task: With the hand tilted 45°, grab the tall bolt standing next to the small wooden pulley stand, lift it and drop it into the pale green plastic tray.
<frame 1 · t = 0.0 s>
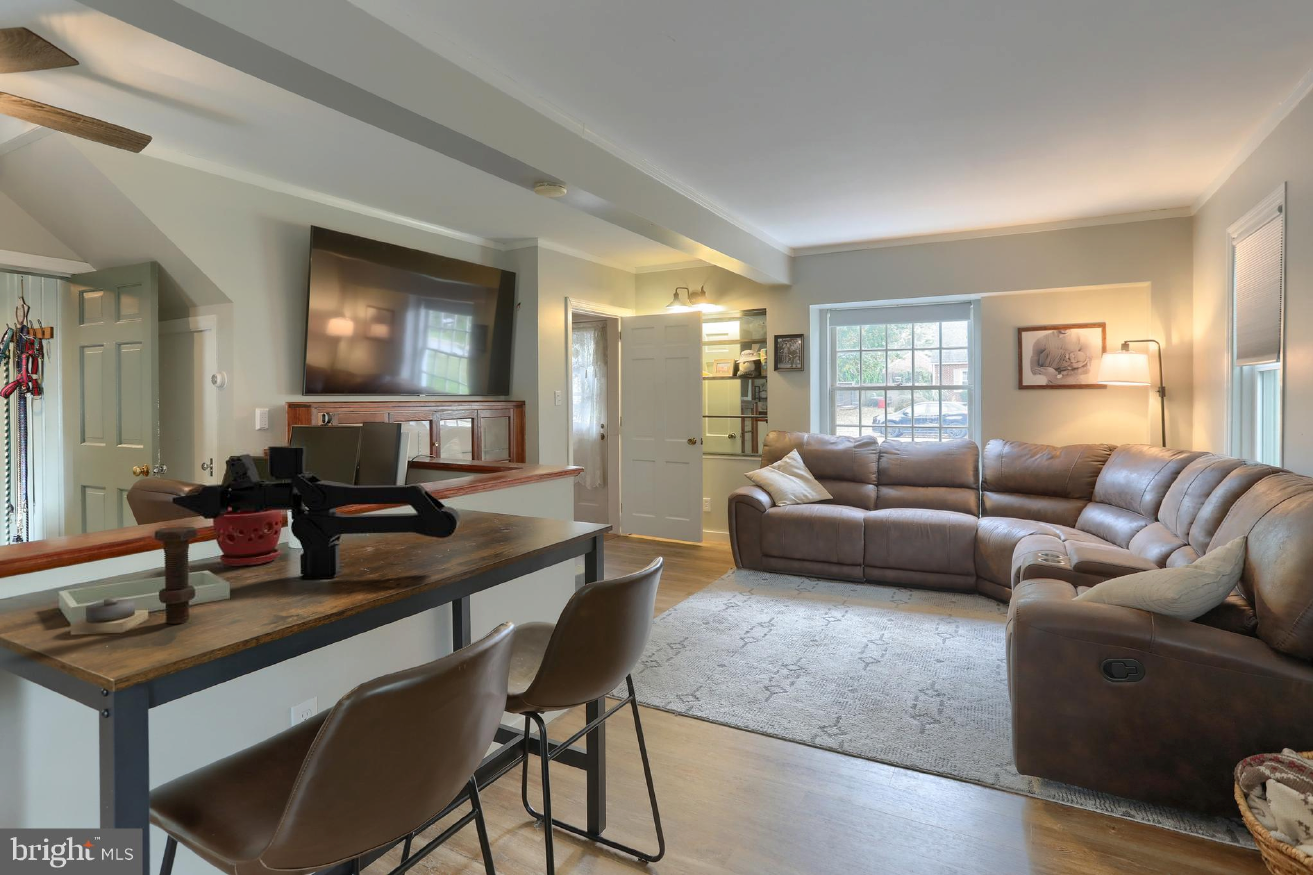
hand: (184, 497, 138), 17 cm above the table, tool horizontal, fingers open, 9 cm apart
pulley stand: (111, 626, 108), on the table
bolt: (177, 623, 111), on the table
plant pot: (248, 563, 155), on the table
tray: (146, 602, 122), on the table
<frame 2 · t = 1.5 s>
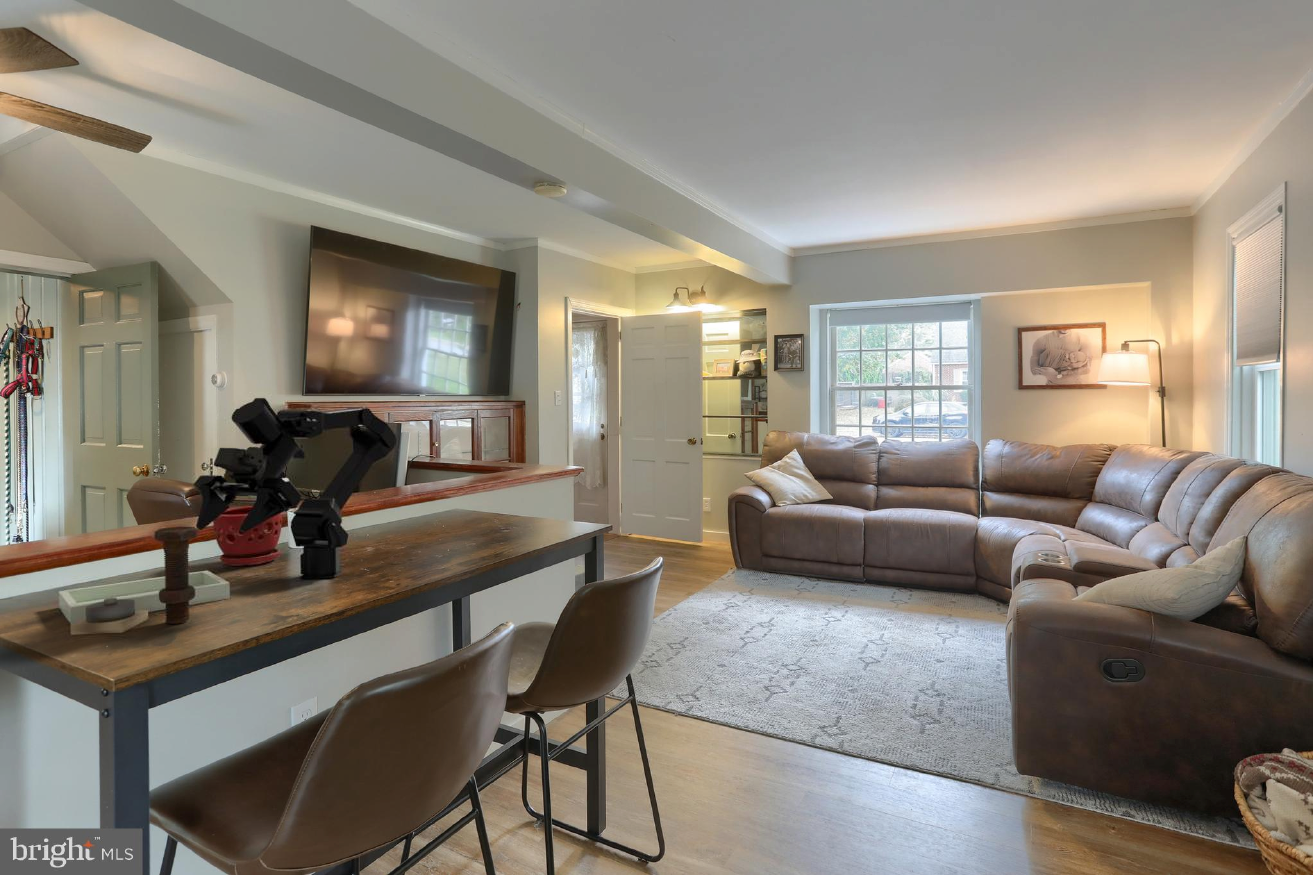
hand: (220, 529, 118), 14 cm above the table, tool tilted 45°, fingers open, 9 cm apart
nothing on the table moved.
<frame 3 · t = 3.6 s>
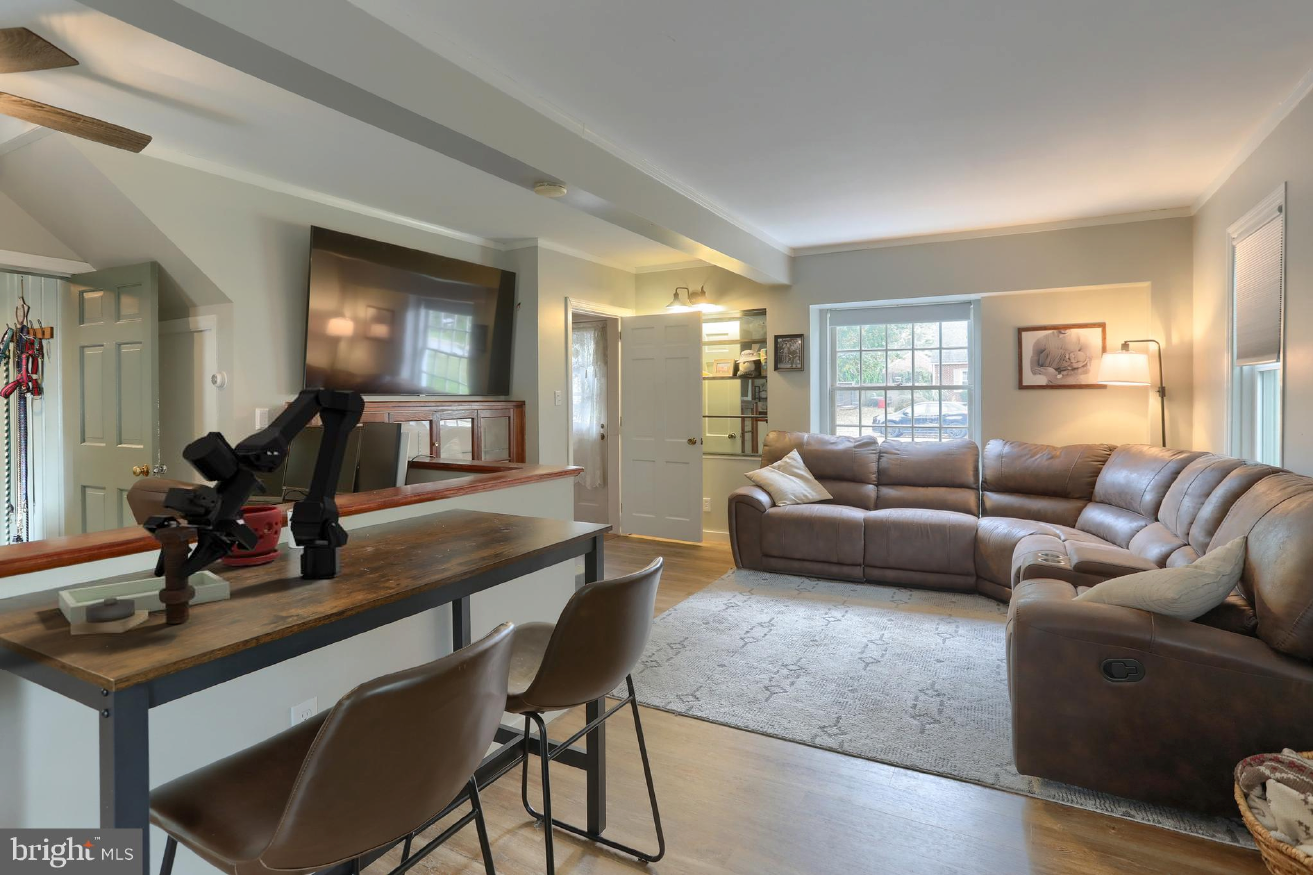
hand: (168, 577, 109), 8 cm above the table, tool tilted 45°, fingers closed on bolt, 4 cm apart
bolt: (177, 623, 111), on the table, touching gripper
everything else where it was.
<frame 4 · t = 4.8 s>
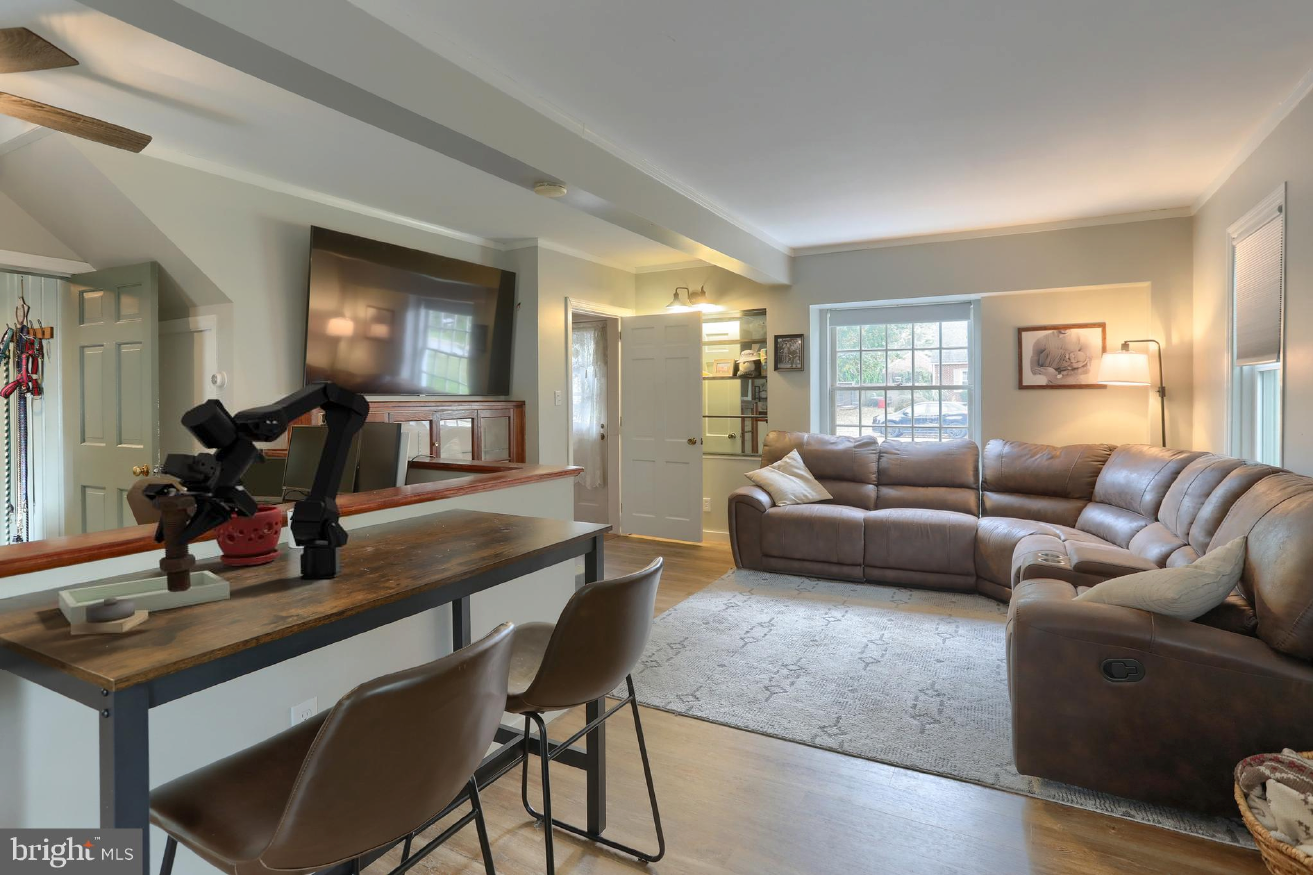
hand: (168, 542, 109), 13 cm above the table, tool tilted 45°, fingers closed on bolt, 4 cm apart
bolt: (179, 591, 111), point 5 cm above the table, touching gripper
everything else where it was.
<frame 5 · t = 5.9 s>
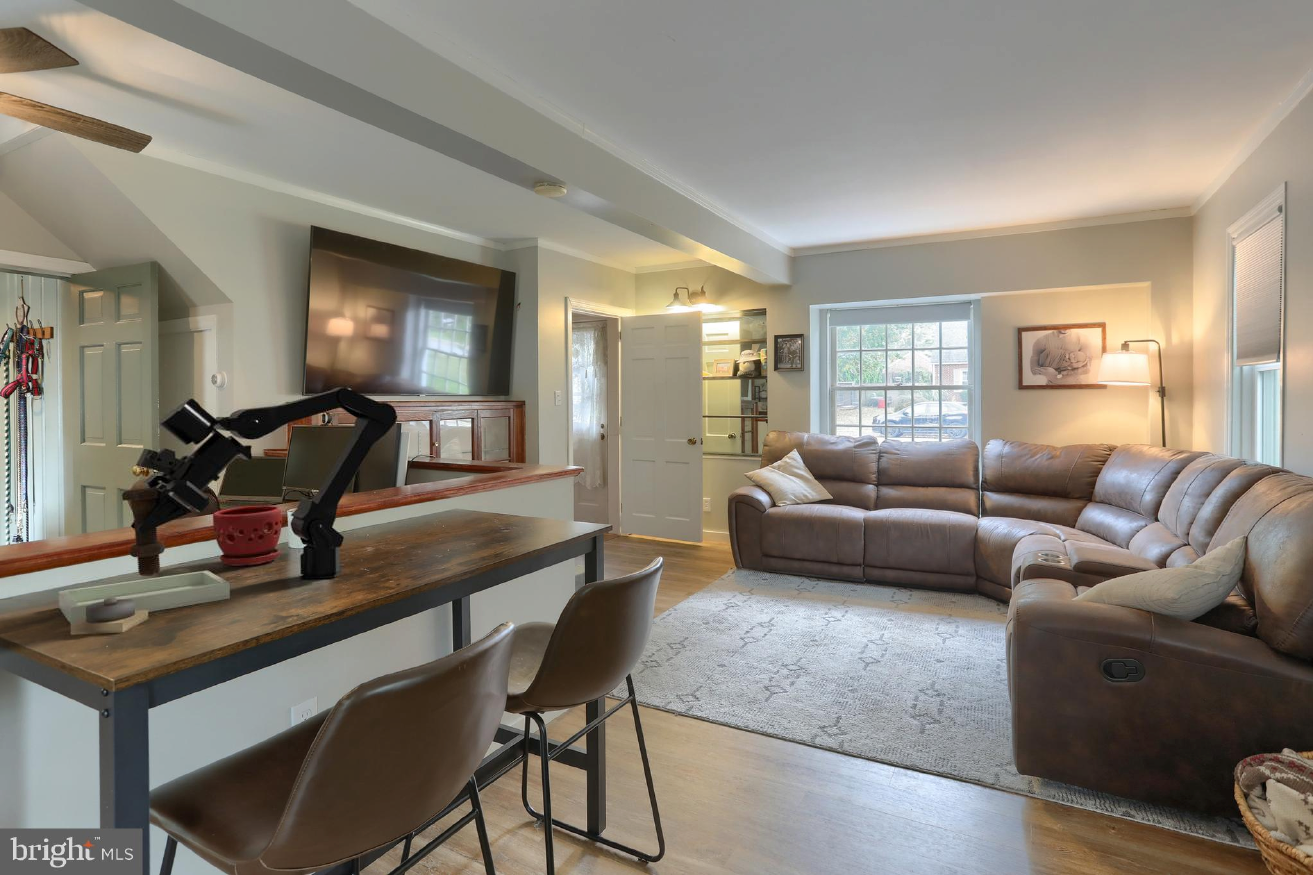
hand: (136, 529, 120), 13 cm above the table, tool tilted 45°, fingers closed on bolt, 4 cm apart
bolt: (149, 575, 121), point 5 cm above the table, touching gripper
everything else where it was.
when the fingers open (10 cm above the table, at t = 6.9 s): bolt drops 1 cm, resting on tray.
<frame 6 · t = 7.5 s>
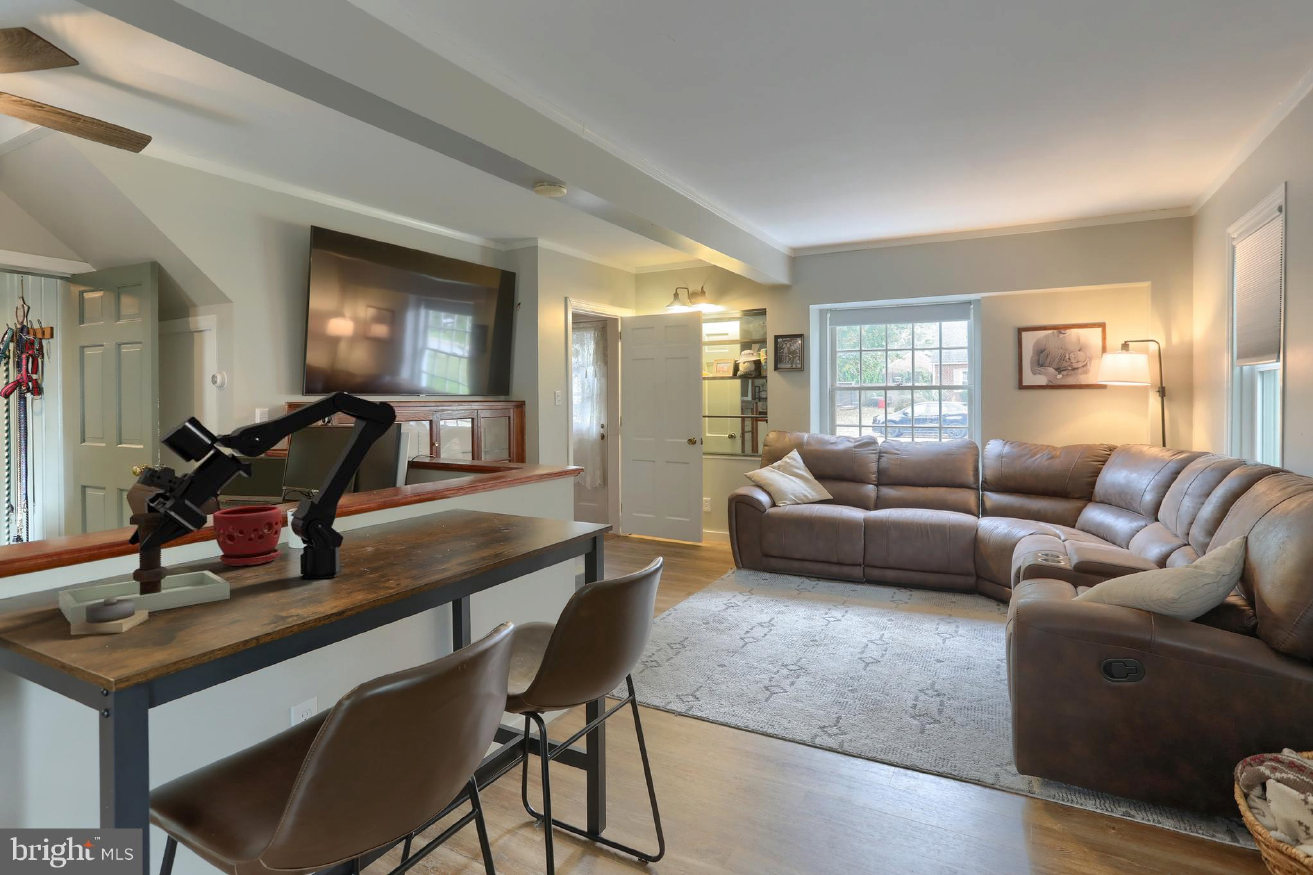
hand: (135, 547, 120), 10 cm above the table, tool tilted 45°, fingers open, 9 cm apart
bolt: (150, 600, 122), resting on tray
everything else where it was.
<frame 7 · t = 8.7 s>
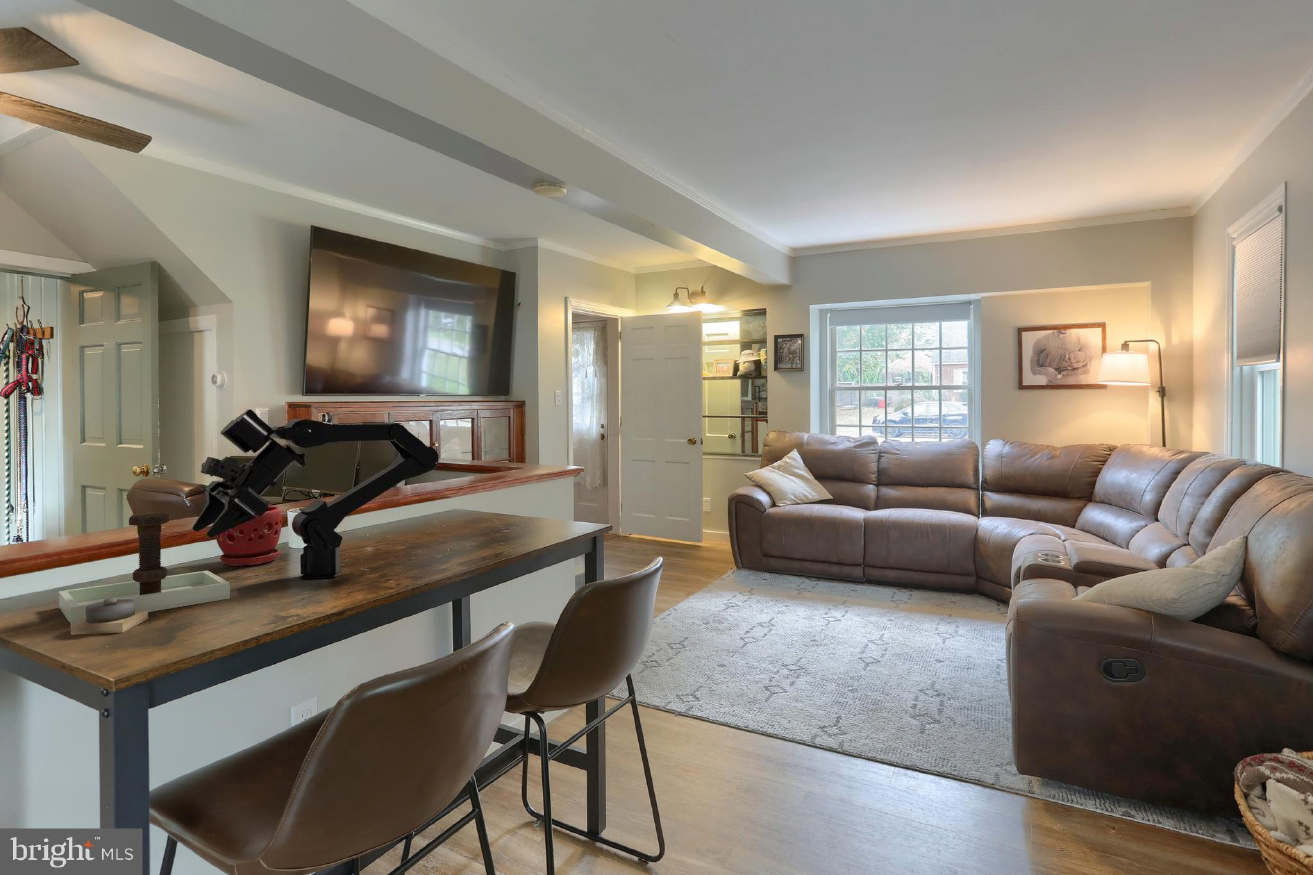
hand: (200, 533, 127), 11 cm above the table, tool tilted 45°, fingers open, 9 cm apart
nothing on the table moved.
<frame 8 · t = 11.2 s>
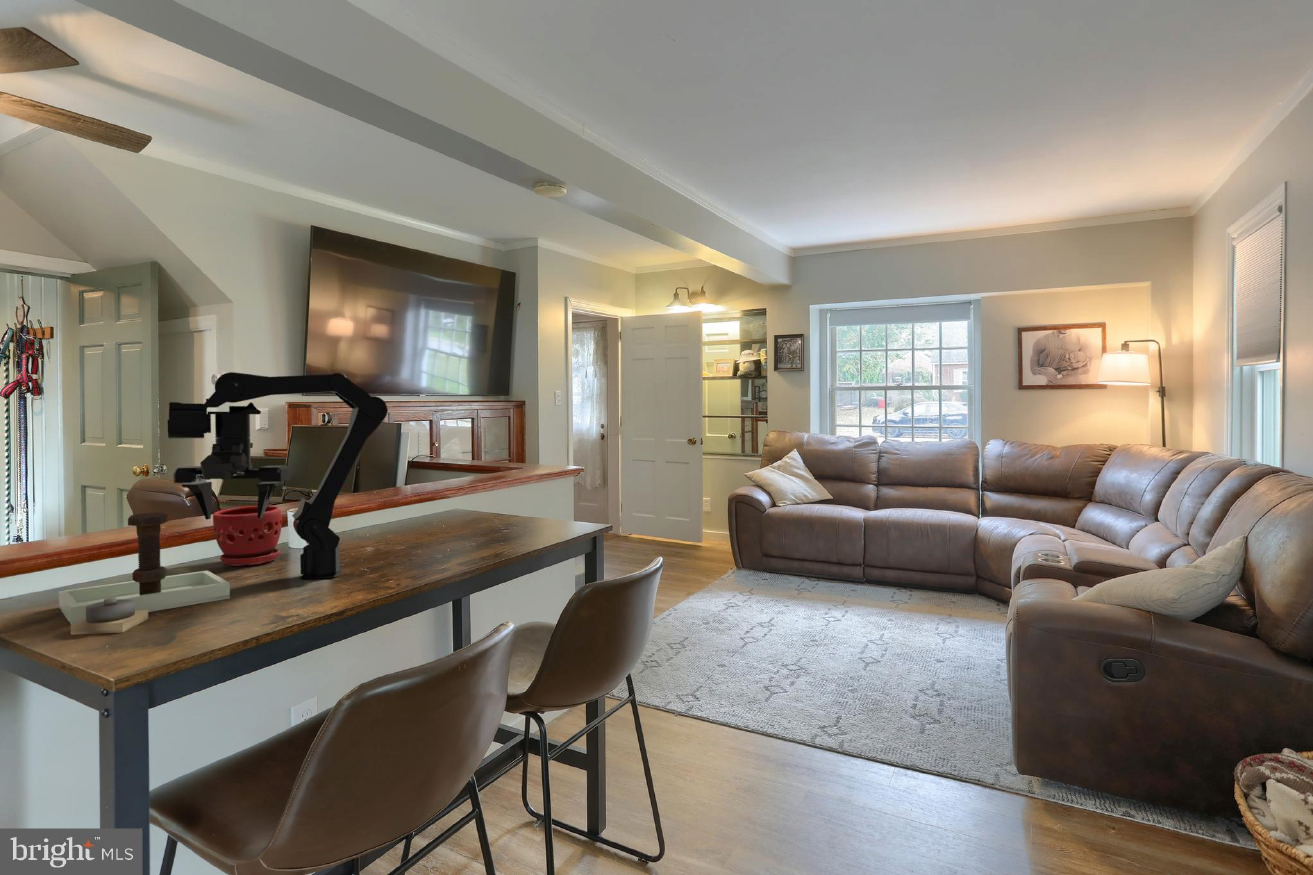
hand: (234, 518, 134), 13 cm above the table, tool pointing down, fingers open, 9 cm apart
nothing on the table moved.
at the end: bolt 0.7 cm from the tray (horizontally); bolt resting on tray; the gripper is holding nothing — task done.
